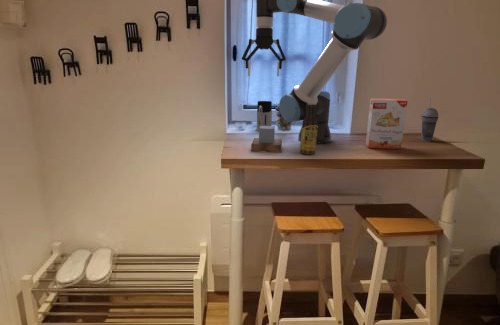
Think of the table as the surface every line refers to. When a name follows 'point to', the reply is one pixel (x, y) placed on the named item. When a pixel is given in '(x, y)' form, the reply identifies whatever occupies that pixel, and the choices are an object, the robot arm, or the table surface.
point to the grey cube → (266, 134)
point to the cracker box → (386, 123)
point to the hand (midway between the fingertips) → (263, 76)
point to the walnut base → (266, 146)
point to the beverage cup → (428, 123)
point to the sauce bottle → (309, 131)
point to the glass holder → (264, 114)
